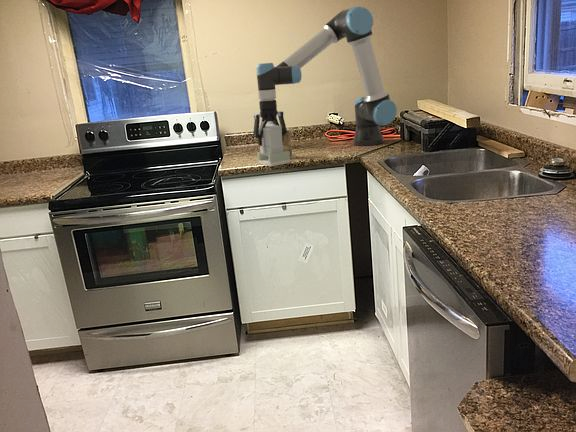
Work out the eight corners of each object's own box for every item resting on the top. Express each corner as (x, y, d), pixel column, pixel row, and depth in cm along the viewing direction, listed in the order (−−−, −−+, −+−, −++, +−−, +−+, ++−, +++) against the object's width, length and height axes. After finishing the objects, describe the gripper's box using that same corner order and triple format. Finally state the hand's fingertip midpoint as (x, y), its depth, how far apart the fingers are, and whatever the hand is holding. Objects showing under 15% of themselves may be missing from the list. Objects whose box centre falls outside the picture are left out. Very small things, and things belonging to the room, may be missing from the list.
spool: (289, 155, 250) (287, 128, 246) (299, 157, 242) (297, 129, 238) (273, 158, 246) (270, 130, 242) (283, 160, 238) (280, 132, 234)
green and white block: (277, 159, 242) (276, 148, 240) (290, 162, 232) (289, 151, 230) (258, 163, 237) (257, 152, 235) (270, 166, 227) (269, 155, 225)
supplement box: (283, 153, 233) (282, 126, 227) (271, 157, 228) (269, 129, 223) (272, 149, 238) (271, 123, 232) (260, 154, 233) (258, 126, 228)
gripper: (284, 97, 234) (287, 147, 240) (241, 102, 224) (246, 153, 230) (292, 97, 228) (296, 148, 234) (249, 102, 218) (254, 155, 224)
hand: (271, 151), depth 232 cm, fingers closed on supplement box, 9 cm apart
